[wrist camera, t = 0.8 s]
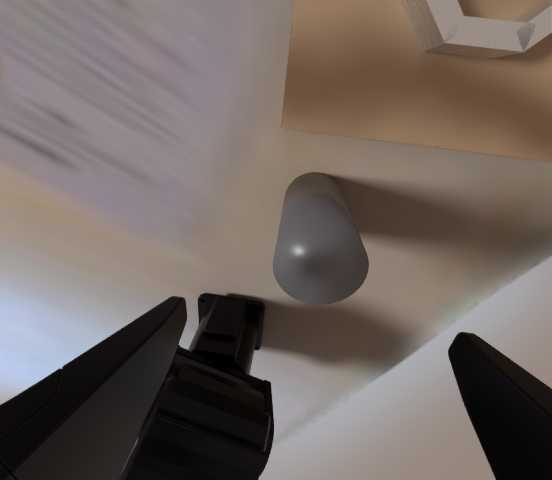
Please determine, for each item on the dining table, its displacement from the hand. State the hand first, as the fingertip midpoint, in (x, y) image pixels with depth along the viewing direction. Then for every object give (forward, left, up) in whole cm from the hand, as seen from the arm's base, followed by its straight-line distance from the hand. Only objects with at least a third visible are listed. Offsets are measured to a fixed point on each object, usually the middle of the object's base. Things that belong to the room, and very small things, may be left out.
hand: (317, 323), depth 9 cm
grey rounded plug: (0, 0, -13) cm, 13 cm away
